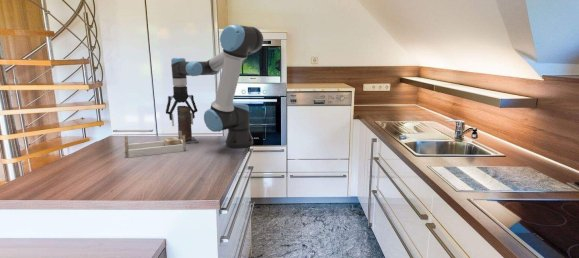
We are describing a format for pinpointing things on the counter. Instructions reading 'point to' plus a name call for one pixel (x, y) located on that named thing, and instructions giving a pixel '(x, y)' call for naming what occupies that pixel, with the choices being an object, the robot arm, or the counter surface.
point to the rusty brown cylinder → (184, 122)
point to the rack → (153, 147)
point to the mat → (191, 141)
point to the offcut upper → (171, 141)
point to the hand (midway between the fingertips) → (182, 124)
